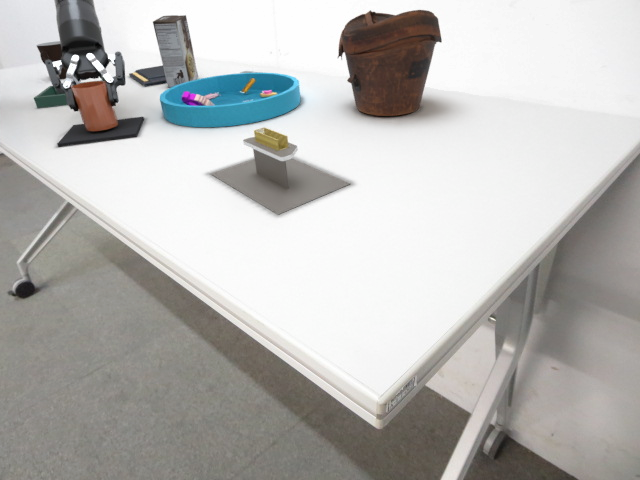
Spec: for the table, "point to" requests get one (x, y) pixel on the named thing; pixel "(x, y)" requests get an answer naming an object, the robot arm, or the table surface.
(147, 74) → the wallet
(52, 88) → the compartment
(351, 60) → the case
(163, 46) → the coffee box
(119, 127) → the mat
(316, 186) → the platform
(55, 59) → the coffee mug
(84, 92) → the cup
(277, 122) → the table surface
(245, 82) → the blue plastic shallow tray
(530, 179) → the table surface
